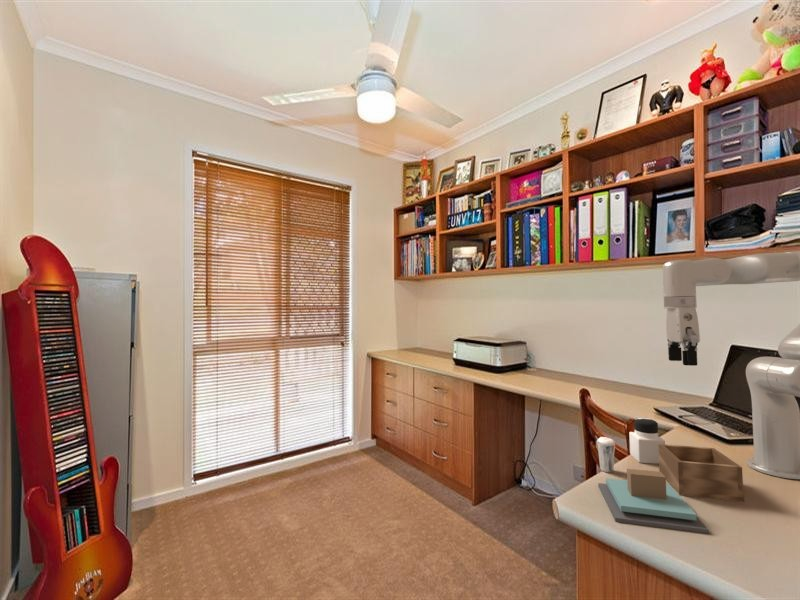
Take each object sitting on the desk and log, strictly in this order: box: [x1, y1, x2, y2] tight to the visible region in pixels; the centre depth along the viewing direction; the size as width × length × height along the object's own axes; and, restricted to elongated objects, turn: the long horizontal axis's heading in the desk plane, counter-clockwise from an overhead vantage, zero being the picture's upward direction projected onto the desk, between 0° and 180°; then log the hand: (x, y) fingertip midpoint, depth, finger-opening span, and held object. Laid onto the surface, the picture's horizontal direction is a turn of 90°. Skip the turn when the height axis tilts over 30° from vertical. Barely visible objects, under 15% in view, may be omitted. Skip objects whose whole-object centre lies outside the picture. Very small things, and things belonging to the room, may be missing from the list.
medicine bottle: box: [628, 417, 666, 465], centre depth 114 cm, size 7×7×12 cm
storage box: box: [658, 443, 745, 503], centre depth 97 cm, size 13×13×8 cm
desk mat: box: [597, 482, 710, 535], centre depth 87 cm, size 17×17×1 cm
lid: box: [605, 468, 697, 520], centre depth 87 cm, size 14×14×7 cm
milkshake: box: [595, 434, 616, 474], centre depth 107 cm, size 5×5×10 cm
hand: (682, 362), depth 107 cm, fingers open, 9 cm apart
